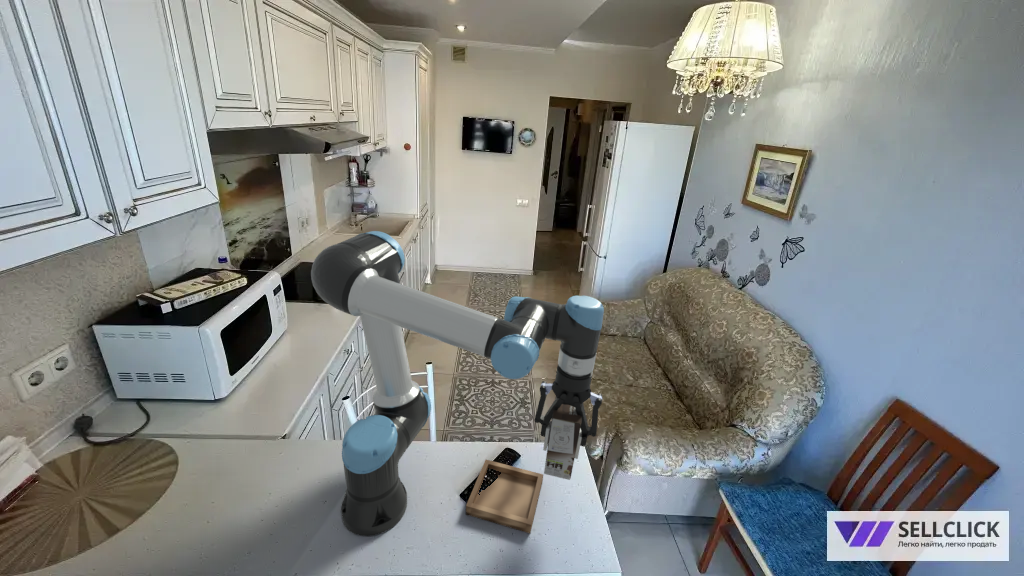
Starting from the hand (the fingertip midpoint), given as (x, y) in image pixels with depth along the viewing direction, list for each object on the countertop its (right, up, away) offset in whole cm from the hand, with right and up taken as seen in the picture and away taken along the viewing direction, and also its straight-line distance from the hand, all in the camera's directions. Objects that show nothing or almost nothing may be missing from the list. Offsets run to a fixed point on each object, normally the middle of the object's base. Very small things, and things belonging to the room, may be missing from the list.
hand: (561, 450), depth 94 cm
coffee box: (0, -4, +2) cm, 4 cm away
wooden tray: (-13, -16, +9) cm, 23 cm away
